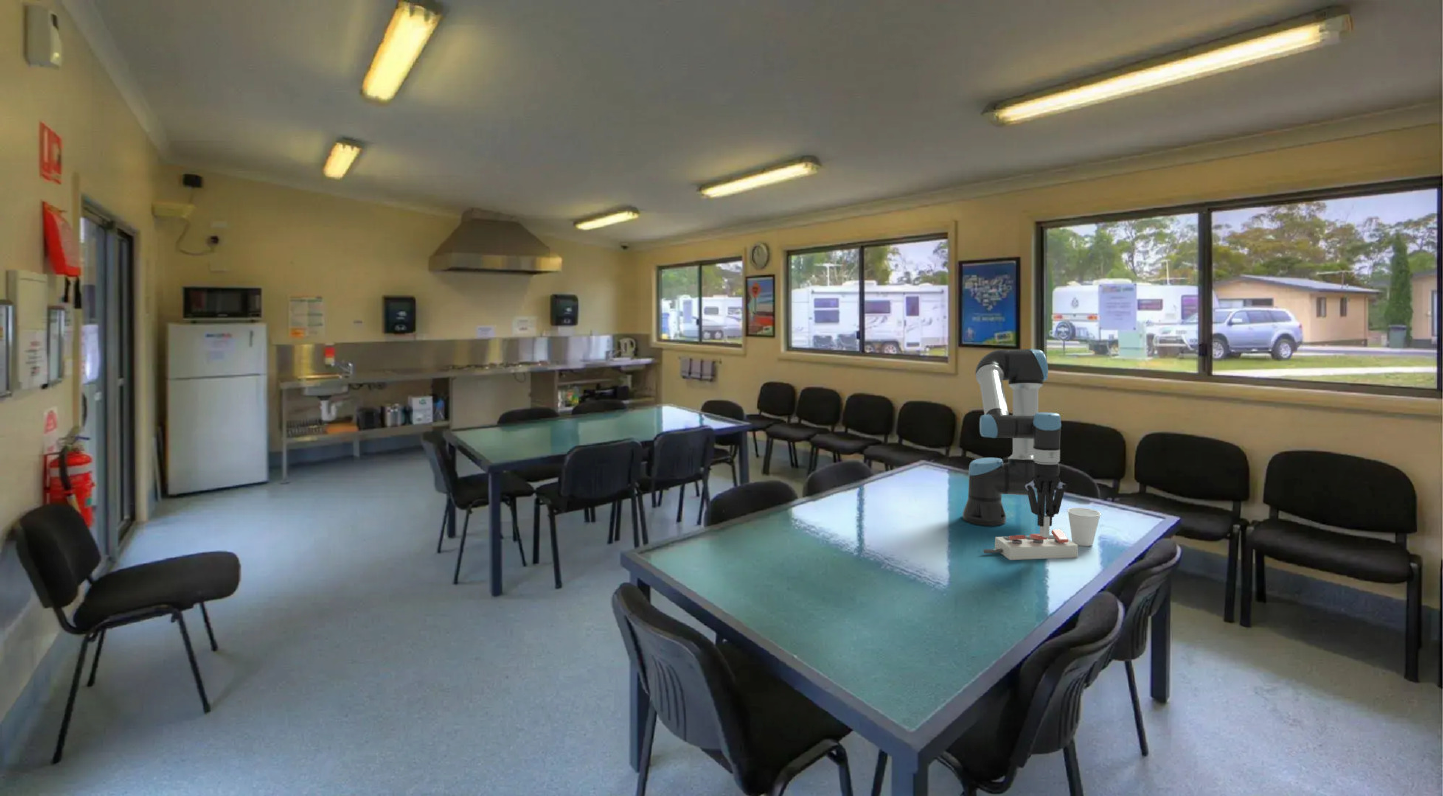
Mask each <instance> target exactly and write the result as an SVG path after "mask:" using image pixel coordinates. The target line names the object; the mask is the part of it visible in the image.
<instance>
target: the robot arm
mask: <svg viewBox="0 0 1443 796" xmlns="http://www.w3.org/2000/svg"><path fill="white" fill-rule="evenodd" d="M1048 373H1049V366H1048V361H1047V357H1046V355H1045V352H1044V351H1042V350H1040V349H1031V348H1028V349H1027V348H1026V349H1025V348H1023V349H1022V348H1021V349H1019V348H1018V349H1017V348H1016V349H995V350H993V351H991V352H989V353H987V354H985V355H984V356H983V357H982V358H981V359H980V360H979V362H977V365H976V367H975V373H974V374H975V379H976V382H977V383H978V384H979V389H980V394H981V399H982V406H983V407H982V408H983V413H984V414H982V415H980V417H979V434H980V436H981V437H983V438H992V439H1012V454H1011V455H1010V456H1008V457H1007V460H1008V461H1007V462H1004V460H1003V459H1002V458H999V457H982V458H976V459H974V460H972V461H971V462H970V463H969V465H968V472H967V474H968V486H967V487H968V490H967V491H968V493H967V501H966V503H965V505H964V508H963V511H962V520H964V521H965V522H967V523H969V524H973V525H978V526H986V527H987V526H988V527H991V526H994V527H995V526H1001V525H1005V523H1006V522H1007V515H1006V512H1005V509H1004V506H1003V502H1002V497H1003V496H1002V495H1011V496H1012V495H1014V496H1015V495H1016V496H1027V498H1028V502H1029V507H1030V512H1031V513H1032V514H1034V515H1036V516H1037V526H1038V527H1039V534H1040V535H1041V536H1042V537H1044V538H1046V537H1049V535H1050V527H1052V525H1053V518H1054V517H1055V515H1059V513H1060V510H1061V506H1062V501H1063V497H1064V495H1065V494H1064V493H1065V491H1066V490H1067V488H1068V484H1066V483H1063V482H1062V481H1061V479H1060V476H1059V475H1060V471H1061V470H1060V469H1061V467H1060V466H1061V465H1060V463H1059V462H1061V433H1062V432H1061V431H1062V428H1061V427H1062V422H1061V420H1062V419H1061V415H1060V414H1059V413H1058V412H1048V411H1047V412H1044V411H1043V412H1039V389H1041V388H1042V387H1043V383H1044V382H1046V381H1047V380H1048V378H1049V374H1048ZM1003 381H1007V382H1008V387H1009V388H1010V389H1012V414H1011V415H1010V414H1009V413H1010V412H1009V410H1008V409H1009V408H1008V404H1007V399H1006V394H1005V388H1004V383H1003Z"/></svg>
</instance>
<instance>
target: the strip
mask: <svg viewBox="0 0 1443 796" xmlns="http://www.w3.org/2000/svg"><path fill="white" fill-rule="evenodd" d="M994 538H995V540H994V548H989V549H988V548H985V549H983V550H982V553H983V554H994V553H995V554H998V553H999V554H1001V555H1002V556H1004V557H1005V558H1007V559H1008V560H1009V561H1017V560H1020V561H1021V560H1042V559H1043V560H1044V559H1047V560H1048V559H1069V558H1070V559H1071V558H1078V553H1079V552H1078V550H1079V545H1077V544H1075V543H1073V542H1072V540H1070V539H1069V540H1068V542H1062V543H1059V542H1058V541H1057V539H1056V538H1055V537H1054V535H1053V534H1049V537H1047V539H1044V540H1038V539H1033V538H1030V535H1025V539H1013V540H1009V536H995V537H994Z"/></svg>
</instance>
